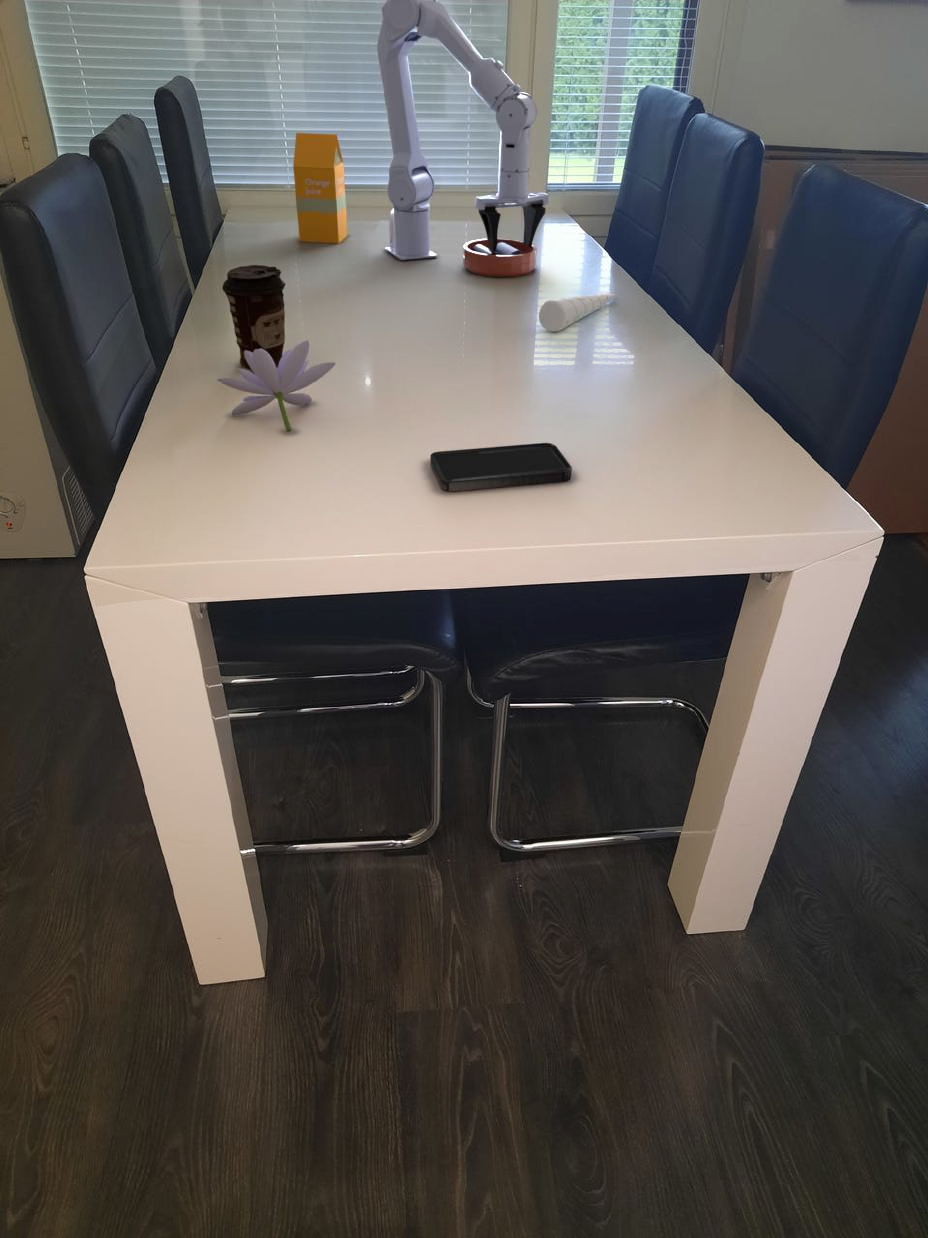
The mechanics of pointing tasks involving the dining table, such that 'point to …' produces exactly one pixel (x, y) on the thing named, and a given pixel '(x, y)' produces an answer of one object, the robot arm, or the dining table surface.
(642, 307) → the dining table surface
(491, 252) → the black cylinder
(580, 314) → the unicorn horn
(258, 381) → the water lily
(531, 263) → the bowl
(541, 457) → the phone
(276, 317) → the coffee cup
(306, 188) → the orange juice
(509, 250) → the navy tube
